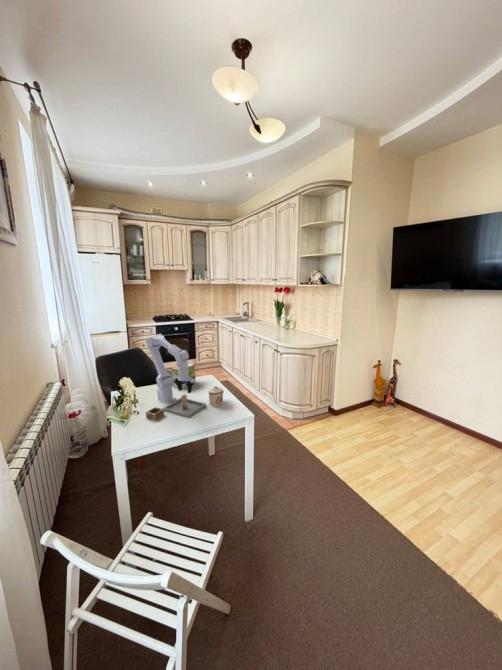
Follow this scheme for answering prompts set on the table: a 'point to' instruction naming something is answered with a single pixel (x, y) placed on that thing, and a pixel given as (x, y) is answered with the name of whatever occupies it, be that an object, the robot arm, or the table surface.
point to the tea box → (190, 372)
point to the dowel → (184, 402)
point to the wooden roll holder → (155, 413)
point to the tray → (177, 409)
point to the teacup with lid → (215, 396)
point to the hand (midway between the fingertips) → (185, 391)
